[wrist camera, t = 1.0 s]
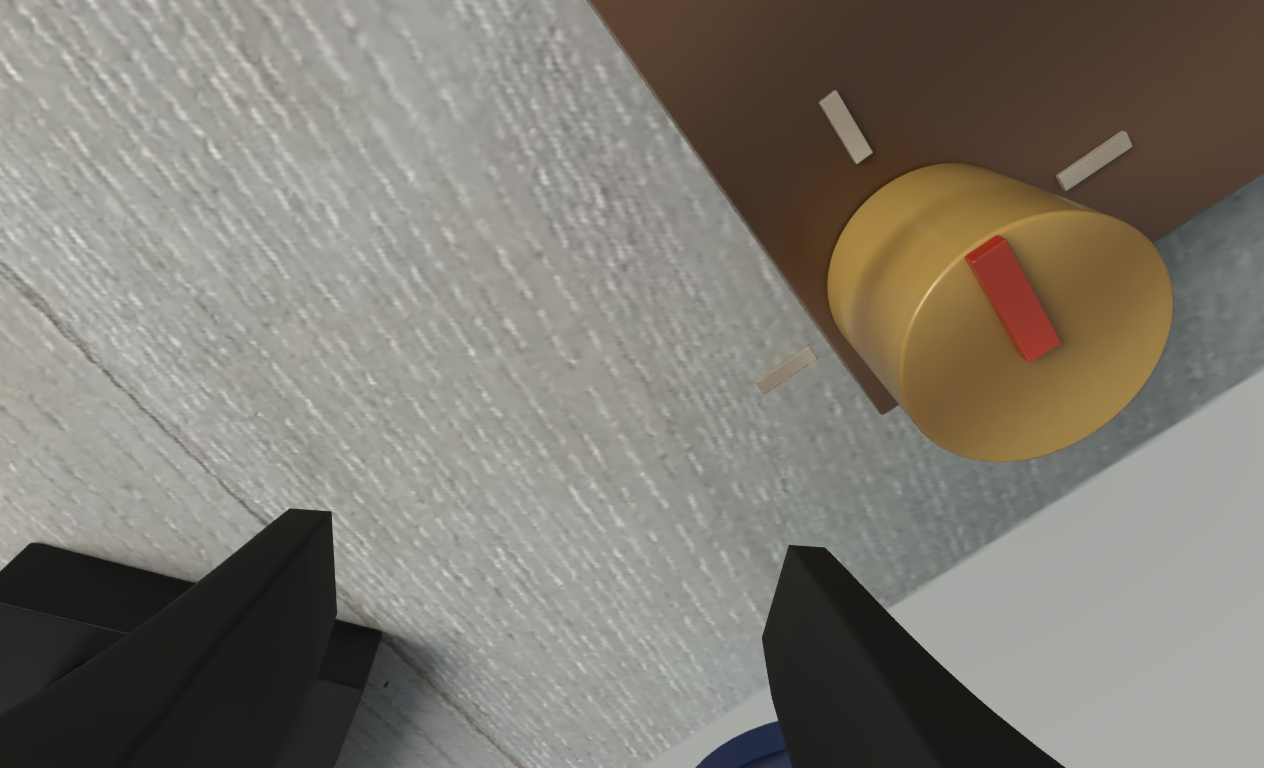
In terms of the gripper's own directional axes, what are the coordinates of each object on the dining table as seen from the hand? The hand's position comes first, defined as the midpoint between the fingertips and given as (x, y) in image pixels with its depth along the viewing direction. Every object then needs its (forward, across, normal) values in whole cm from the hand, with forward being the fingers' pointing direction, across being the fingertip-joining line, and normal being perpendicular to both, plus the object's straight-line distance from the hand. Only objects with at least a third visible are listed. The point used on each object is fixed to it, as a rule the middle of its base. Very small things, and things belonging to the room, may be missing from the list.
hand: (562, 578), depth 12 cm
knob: (+5, -7, -4) cm, 10 cm away
